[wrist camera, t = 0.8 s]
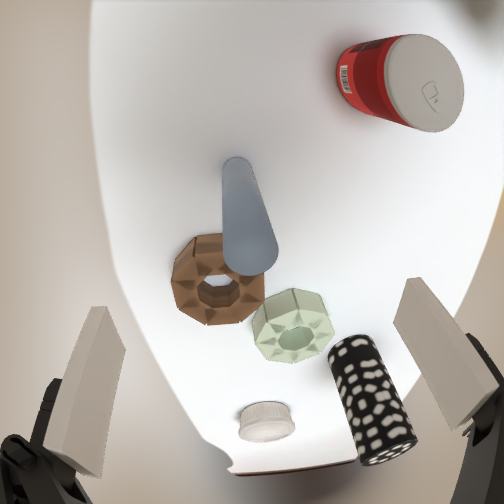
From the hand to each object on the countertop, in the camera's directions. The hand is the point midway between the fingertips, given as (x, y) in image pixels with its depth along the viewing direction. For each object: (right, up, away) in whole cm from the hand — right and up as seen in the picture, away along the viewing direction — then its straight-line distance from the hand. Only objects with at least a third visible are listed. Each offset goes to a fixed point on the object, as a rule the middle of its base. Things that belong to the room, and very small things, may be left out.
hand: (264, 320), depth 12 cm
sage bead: (+5, -6, +29) cm, 30 cm away
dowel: (-2, +11, +18) cm, 21 cm away
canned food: (+11, +21, +13) cm, 27 cm away
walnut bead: (-4, +1, +24) cm, 24 cm away
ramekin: (+2, -30, +43) cm, 52 cm away
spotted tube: (+16, -14, +35) cm, 41 cm away
